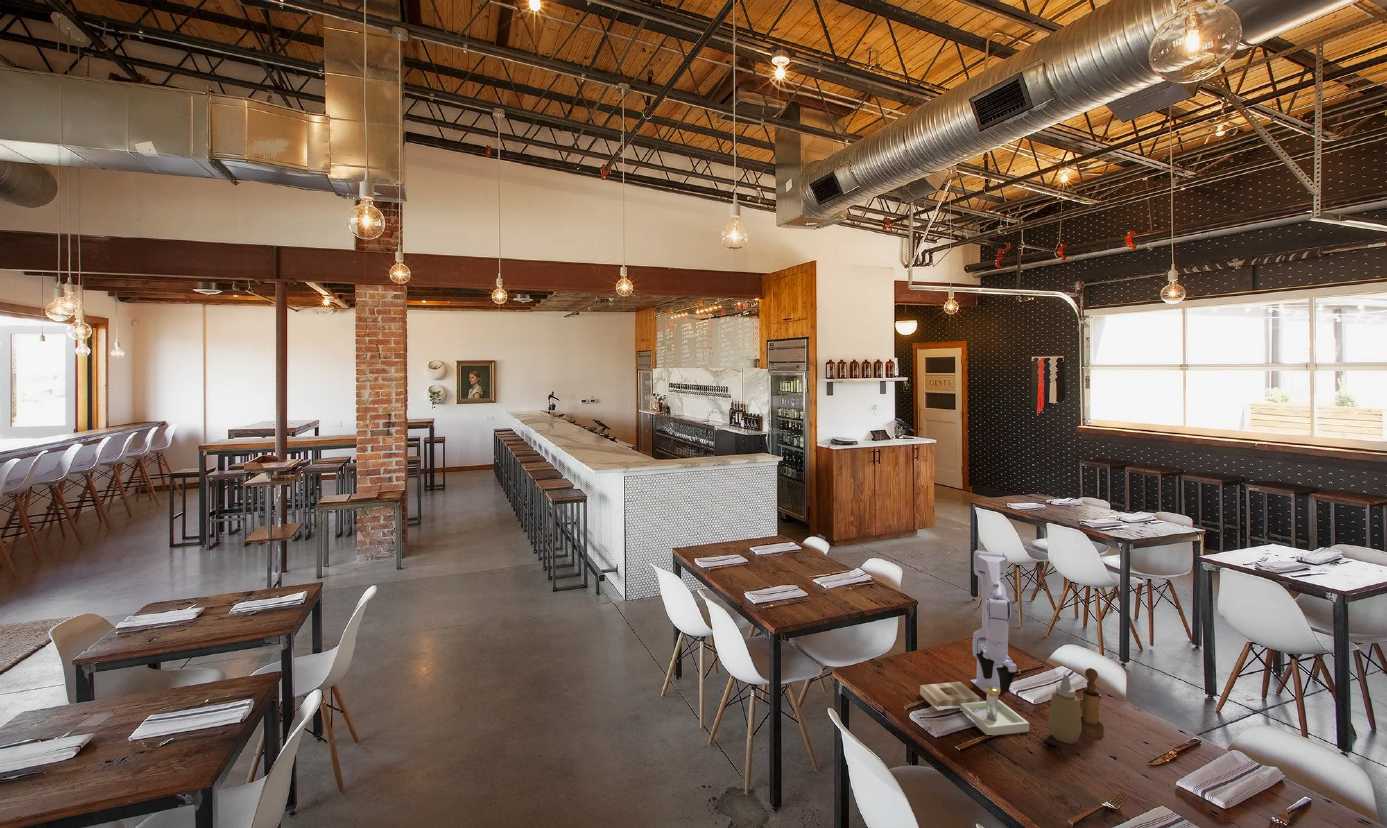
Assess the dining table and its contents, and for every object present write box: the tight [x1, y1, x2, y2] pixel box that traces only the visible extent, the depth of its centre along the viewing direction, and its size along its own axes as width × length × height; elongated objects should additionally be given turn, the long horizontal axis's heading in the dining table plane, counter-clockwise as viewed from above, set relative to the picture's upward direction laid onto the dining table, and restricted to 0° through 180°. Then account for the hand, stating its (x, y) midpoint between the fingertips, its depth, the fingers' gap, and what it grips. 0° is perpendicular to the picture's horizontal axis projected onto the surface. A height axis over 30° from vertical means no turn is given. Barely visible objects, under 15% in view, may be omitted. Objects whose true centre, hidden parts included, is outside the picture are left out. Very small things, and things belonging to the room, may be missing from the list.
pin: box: [985, 686, 1001, 721], centre depth 178 cm, size 4×4×9 cm
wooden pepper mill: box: [1081, 667, 1105, 738], centre depth 172 cm, size 7×6×18 cm
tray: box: [959, 699, 1030, 736], centre depth 177 cm, size 13×13×2 cm
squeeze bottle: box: [1047, 674, 1082, 745], centre depth 169 cm, size 8×8×18 cm
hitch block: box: [919, 681, 981, 707], centre depth 189 cm, size 14×10×3 cm
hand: (996, 684), depth 178 cm, fingers open, 7 cm apart
